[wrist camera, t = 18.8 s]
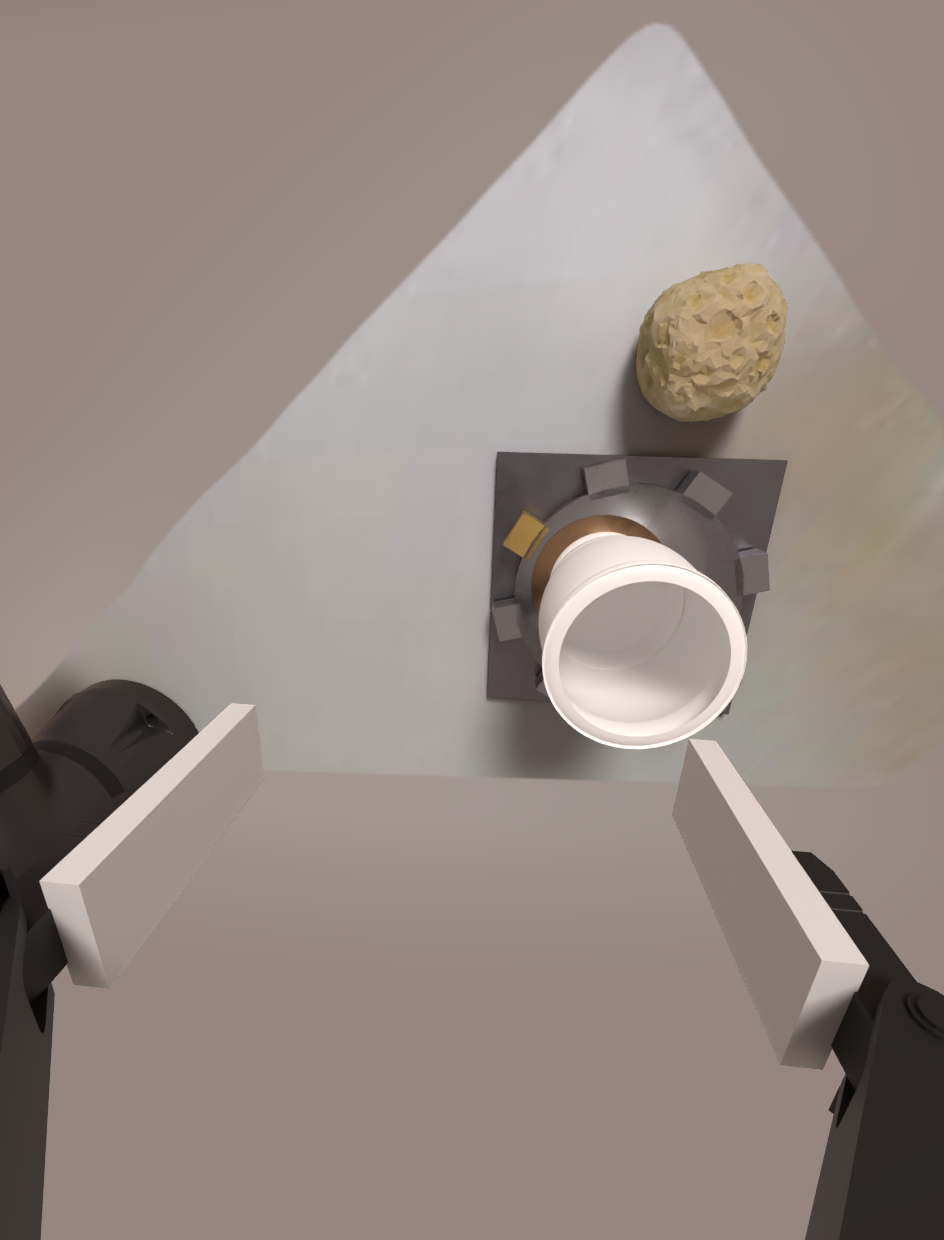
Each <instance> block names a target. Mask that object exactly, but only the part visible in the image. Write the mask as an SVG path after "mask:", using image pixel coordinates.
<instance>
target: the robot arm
mask: <svg viewBox="0 0 944 1240" xmlns="http://www.w3.org/2000/svg"><path fill="white" fill-rule="evenodd" d="M263 780H264V773H263V765H262V756H261V748H260V739H259V731H258V723H257V714H256V706H255V705H247V704H235V703H231V704H230V705H229V706H228V707H227V708H226V709H225V710H224V711H222V712H221V713H220V714H219V715H218V716H217V717H216V718H215V719H214V720H213V721H212V722H211V723H210V724H208V725H207V726H206V727H205V728H204V729H203V730H202V731H201V732H200V733H199V734H198V732H197V730H196V728H195V727H194V725H193V723H192V722H191V720H190V719H189V718H188V716H187V715H186V714H185V713H184V712H183V710H182V709H181V708H180V707H179V706H178V705H177V704H175V703H174V702H173V701H172V700H171V699H169V698H168V697H166V696H165V695H163V694H162V693H160V692H159V691H157V690H155V689H153V688H151V687H148V686H146V685H143V684H140V683H137V682H133V681H128V680H106V681H102V682H98V683H96V684H93V685H91V686H89V687H88V688H86V689H84V690H82V691H81V692H79V693H77V694H75V695H74V696H72V697H71V698H70V699H68V700H67V701H66V702H65V703H64V704H63V705H62V706H61V708H60V709H59V711H58V712H57V713H56V715H55V716H54V717H53V718H52V719H51V720H50V721H49V723H48V724H47V725H46V726H45V727H44V728H43V729H42V730H41V731H40V732H39V734H38V735H37V736H36V737H35V738H34V739H33V740H32V741H31V739H30V737H29V735H28V733H27V731H26V730H25V728H24V726H23V724H22V722H21V721H20V719H19V717H18V715H17V713H16V712H15V710H14V708H13V706H12V704H11V703H10V701H9V699H8V698H7V695H6V694H5V692H4V690H3V688H2V687H1V685H0V1240H40V1238H41V1220H42V1204H43V1186H44V1169H45V1152H46V1134H47V1116H48V1100H49V1082H50V1065H51V1064H50V1063H51V1047H52V1029H53V1013H54V995H55V994H54V990H53V987H52V983H51V982H52V981H53V980H54V978H55V977H56V976H57V975H58V974H59V973H60V971H61V970H62V969H63V968H64V967H65V966H66V964H67V966H68V969H69V972H70V975H71V978H72V981H73V984H74V985H82V986H91V987H100V988H110V987H111V986H112V985H113V983H114V982H115V980H116V979H117V978H118V977H119V975H120V974H121V973H122V971H123V970H124V968H125V967H126V966H127V964H128V963H129V961H130V960H131V959H132V958H133V956H134V955H135V954H136V952H137V951H138V949H139V948H140V947H141V945H142V944H143V943H144V941H145V940H146V939H147V937H148V936H149V935H150V933H151V932H152V931H153V929H154V928H155V926H156V925H157V924H158V922H159V921H160V920H161V918H162V917H163V916H164V914H165V913H166V912H167V910H168V909H169V907H170V906H171V905H172V904H173V902H174V901H175V899H176V898H177V897H178V895H179V894H180V892H181V891H182V890H183V888H184V887H185V886H186V885H187V883H188V882H189V880H190V879H191V878H192V876H193V875H194V874H195V872H196V871H197V870H198V868H199V867H200V866H201V864H202V863H203V861H204V860H205V859H206V857H207V856H208V855H209V853H210V852H211V851H212V849H213V848H214V847H215V845H216V844H217V843H218V841H219V840H220V838H221V837H222V836H223V834H224V833H225V832H226V830H227V829H228V828H229V826H230V825H231V824H232V822H233V821H234V820H235V818H236V817H237V815H238V814H239V813H240V811H241V810H242V809H243V807H244V806H245V805H246V803H247V802H248V800H249V799H250V798H251V797H252V795H253V794H254V792H255V791H256V790H257V788H258V787H259V786H260V784H261V783H262V782H263ZM672 815H673V817H674V820H675V822H676V825H677V827H678V829H679V832H680V834H681V836H682V839H683V841H684V843H685V845H686V848H687V850H688V852H689V855H690V857H691V859H692V862H693V864H694V866H695V869H696V871H697V873H698V876H699V878H700V880H701V883H702V885H703V887H704V889H705V892H706V894H707V896H708V899H709V901H710V903H711V906H712V908H713V910H714V913H715V915H716V917H717V919H718V922H719V924H720V926H721V929H722V931H723V933H724V936H725V938H726V940H727V943H728V945H729V947H730V950H731V952H732V954H733V956H734V959H735V961H736V964H737V966H738V968H739V971H740V973H741V975H742V977H743V980H744V982H745V984H746V987H747V989H748V991H749V993H750V996H751V998H752V1000H753V1003H754V1005H755V1007H756V1010H757V1012H758V1015H759V1016H760V1019H761V1021H762V1024H763V1026H764V1028H765V1031H766V1033H767V1035H768V1038H769V1040H770V1042H771V1044H772V1047H773V1049H774V1051H775V1054H776V1056H777V1058H778V1061H779V1063H780V1065H786V1066H794V1067H803V1068H812V1069H821V1070H822V1069H823V1068H824V1066H825V1064H826V1061H827V1059H828V1057H829V1055H830V1052H831V1050H832V1049H833V1050H834V1052H835V1054H836V1056H837V1058H838V1060H839V1062H840V1064H841V1066H842V1067H843V1069H844V1071H845V1073H846V1074H845V1076H844V1078H843V1080H842V1083H841V1085H840V1087H839V1089H838V1091H837V1093H836V1095H835V1097H834V1100H833V1102H832V1104H831V1106H830V1108H829V1111H830V1112H832V1113H833V1114H834V1116H833V1120H832V1124H831V1129H830V1133H829V1138H828V1142H827V1146H826V1151H825V1155H824V1159H823V1164H822V1168H821V1172H820V1177H819V1181H818V1185H817V1190H816V1195H815V1199H814V1203H813V1207H812V1212H811V1216H810V1220H809V1225H808V1229H807V1234H806V1238H805V1240H944V996H943V995H942V994H940V993H939V992H938V991H935V990H933V989H931V988H929V987H927V986H925V985H922V984H920V983H917V981H916V980H915V979H914V978H913V976H912V975H911V974H910V972H909V971H908V970H907V968H906V967H905V966H904V964H903V963H902V962H901V961H900V959H899V958H898V956H897V955H896V954H895V952H894V951H893V950H892V948H891V947H890V946H889V944H888V943H887V942H886V940H885V939H884V938H883V936H882V935H881V934H880V932H879V931H878V930H877V928H876V927H875V926H874V924H873V923H872V922H871V921H870V919H869V918H868V916H867V915H866V914H863V912H862V908H861V907H860V906H859V905H858V903H857V902H856V900H855V899H854V898H853V897H852V896H850V895H849V891H848V890H847V889H846V887H845V886H844V884H843V883H842V882H841V881H840V879H839V878H838V876H837V875H836V874H835V872H834V871H833V870H831V869H830V868H829V867H828V866H826V865H825V864H824V863H823V862H822V861H821V860H819V859H818V858H817V857H816V856H815V855H813V854H812V853H809V852H799V851H791V850H790V849H789V847H788V846H787V844H786V843H785V841H784V840H783V839H782V837H781V836H780V834H779V833H778V831H777V830H776V828H775V827H774V825H773V824H772V822H771V821H770V820H769V818H768V817H767V816H766V814H765V812H764V811H763V809H762V808H761V807H760V805H759V804H758V802H757V801H756V799H755V798H754V796H753V795H752V793H751V792H750V790H749V789H748V787H747V786H746V784H745V783H744V782H743V780H742V779H741V777H740V776H739V774H738V773H737V771H736V770H735V768H734V767H733V766H732V764H731V763H730V761H729V760H728V758H727V757H726V755H725V754H724V752H723V751H722V749H721V748H720V747H719V745H718V744H717V742H716V741H709V740H696V739H689V741H688V746H687V750H686V755H685V759H684V764H683V768H682V773H681V777H680V782H679V786H678V792H677V795H676V801H675V805H674V809H673V813H672Z"/></svg>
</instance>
